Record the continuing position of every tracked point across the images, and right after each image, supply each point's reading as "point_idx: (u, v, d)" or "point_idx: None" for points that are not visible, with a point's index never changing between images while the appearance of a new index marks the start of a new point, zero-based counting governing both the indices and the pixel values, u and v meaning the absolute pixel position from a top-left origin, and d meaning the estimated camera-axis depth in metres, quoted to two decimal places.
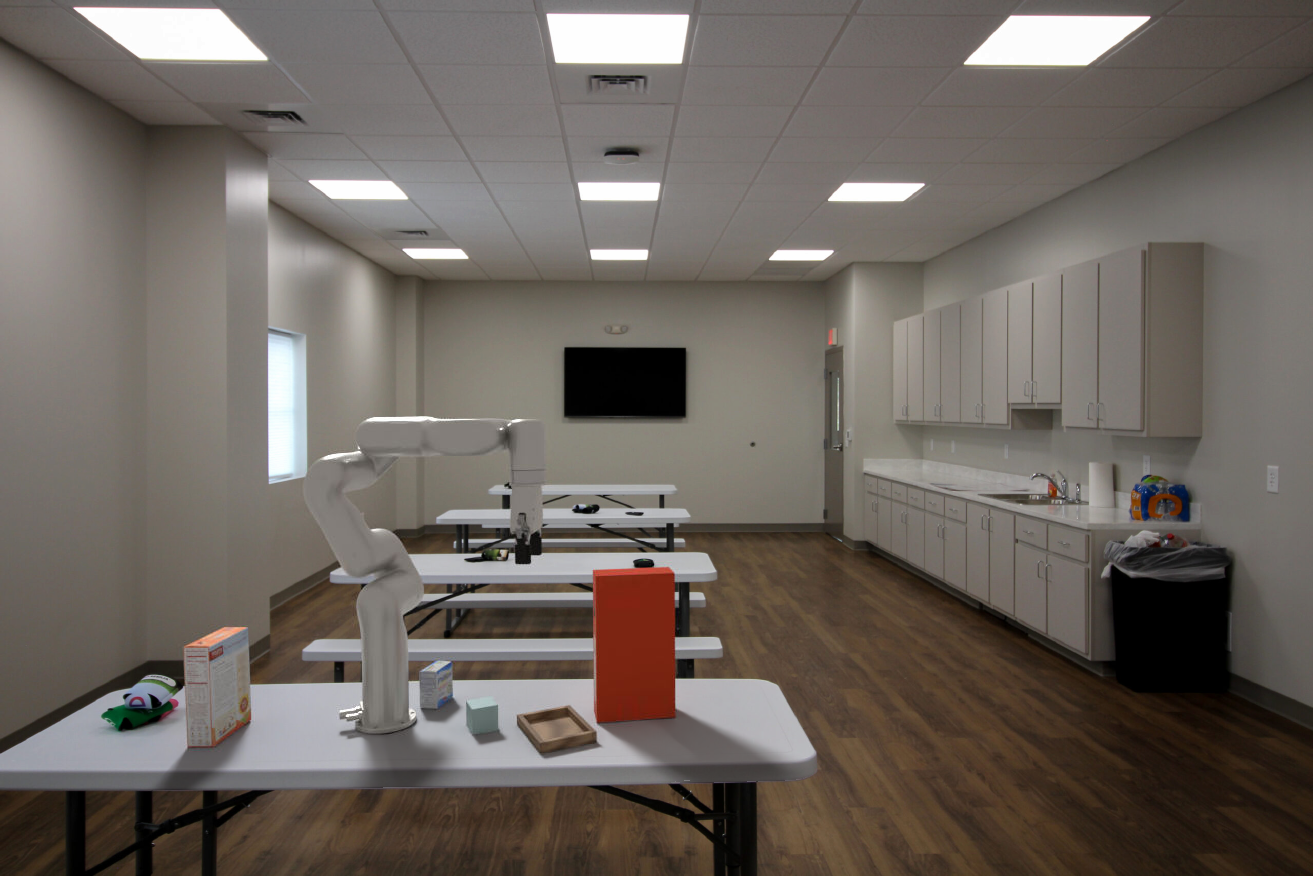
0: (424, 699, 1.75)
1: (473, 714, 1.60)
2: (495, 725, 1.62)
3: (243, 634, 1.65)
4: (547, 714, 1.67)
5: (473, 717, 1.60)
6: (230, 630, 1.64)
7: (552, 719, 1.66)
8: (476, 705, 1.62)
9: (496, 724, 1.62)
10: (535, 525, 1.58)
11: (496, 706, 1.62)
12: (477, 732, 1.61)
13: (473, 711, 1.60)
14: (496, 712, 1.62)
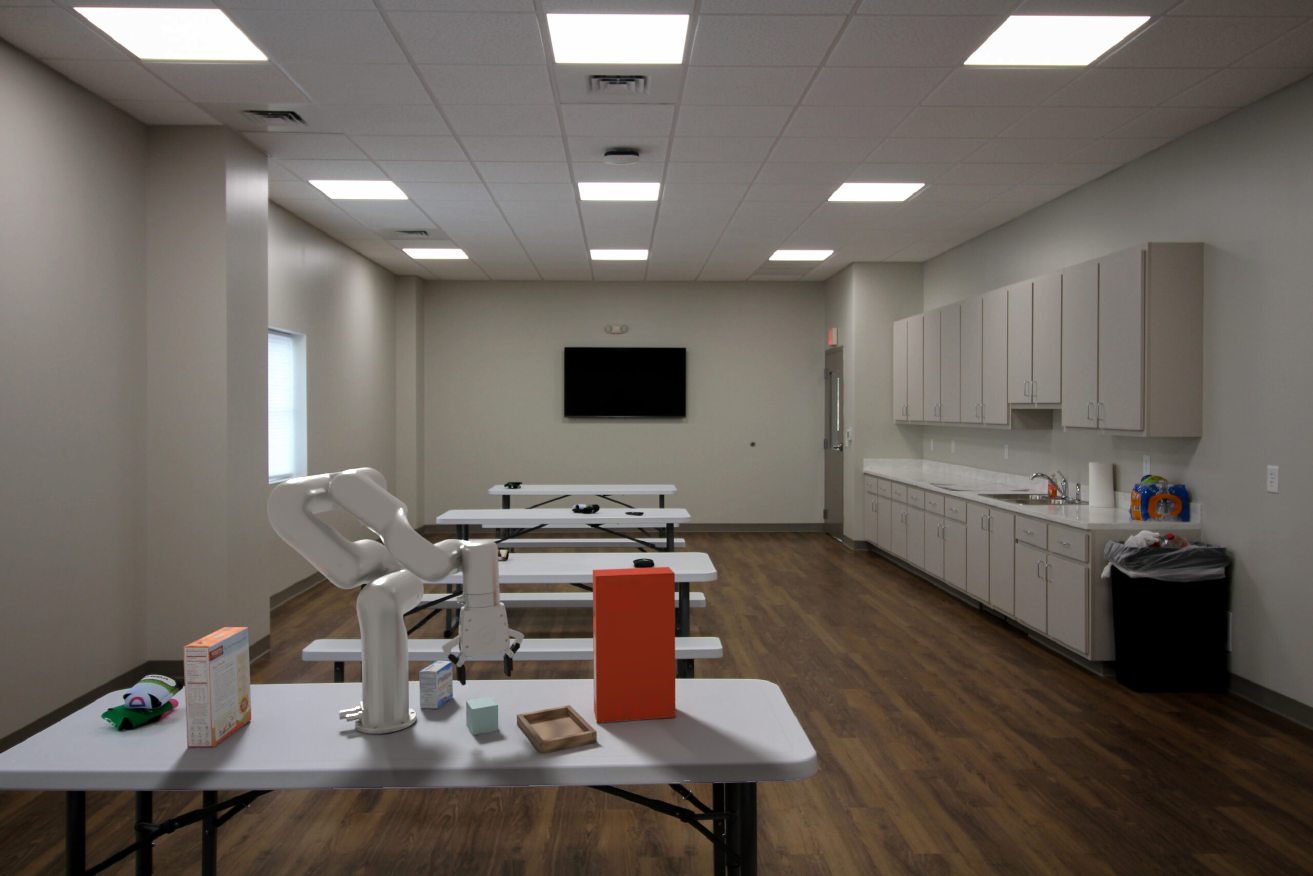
0: (424, 699, 1.75)
1: (473, 714, 1.60)
2: (495, 725, 1.62)
3: (243, 634, 1.65)
4: (547, 714, 1.67)
5: (473, 717, 1.60)
6: (230, 630, 1.64)
7: (552, 719, 1.66)
8: (476, 705, 1.62)
9: (496, 724, 1.63)
10: None
11: (496, 706, 1.62)
12: (477, 732, 1.61)
13: (473, 711, 1.60)
14: (496, 712, 1.62)
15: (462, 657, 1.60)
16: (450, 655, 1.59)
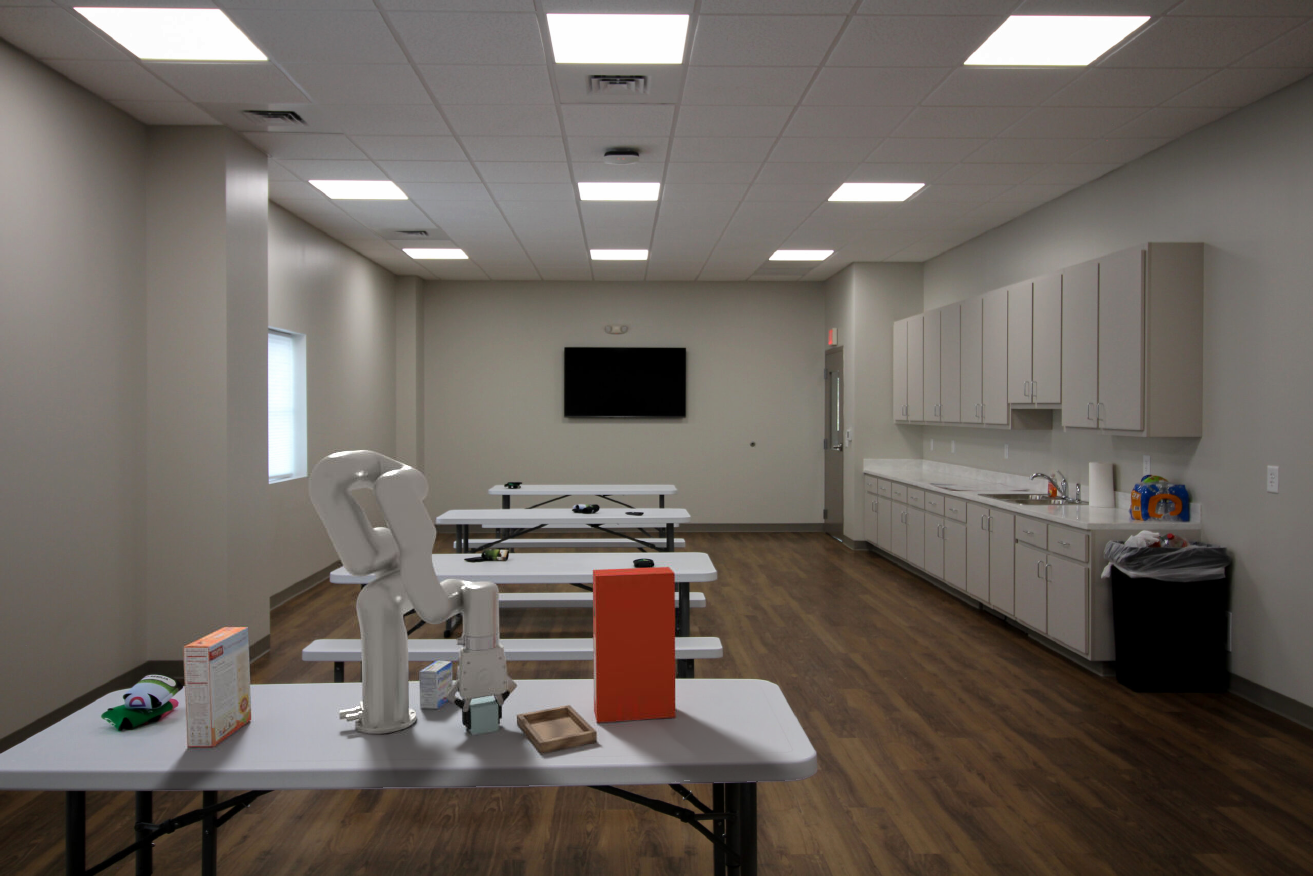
0: (424, 699, 1.75)
1: (473, 714, 1.60)
2: (495, 725, 1.62)
3: (243, 634, 1.65)
4: (547, 714, 1.67)
5: (473, 717, 1.60)
6: (230, 630, 1.64)
7: (552, 719, 1.66)
8: (476, 704, 1.62)
9: (496, 724, 1.62)
10: None
11: (496, 706, 1.62)
12: (477, 732, 1.61)
13: (473, 711, 1.60)
14: (496, 712, 1.62)
15: (466, 702, 1.61)
16: (456, 700, 1.61)
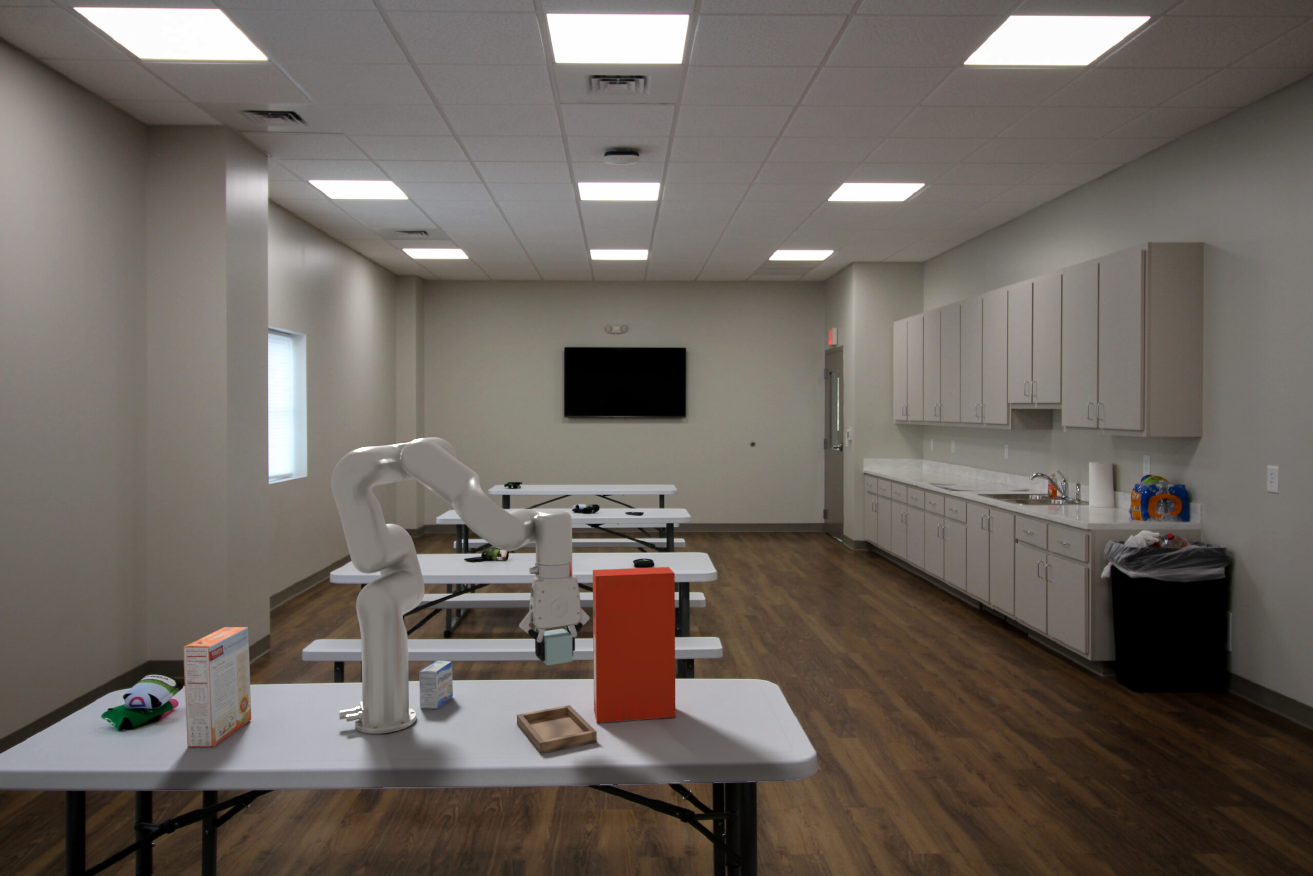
0: (424, 699, 1.75)
1: (548, 644, 1.57)
2: (570, 656, 1.59)
3: (243, 634, 1.65)
4: (547, 714, 1.67)
5: (548, 647, 1.57)
6: (230, 630, 1.64)
7: (552, 719, 1.66)
8: (550, 635, 1.59)
9: (570, 655, 1.59)
10: None
11: (570, 636, 1.59)
12: (552, 662, 1.57)
13: (548, 640, 1.57)
14: (570, 642, 1.59)
15: (540, 632, 1.57)
16: (530, 630, 1.57)
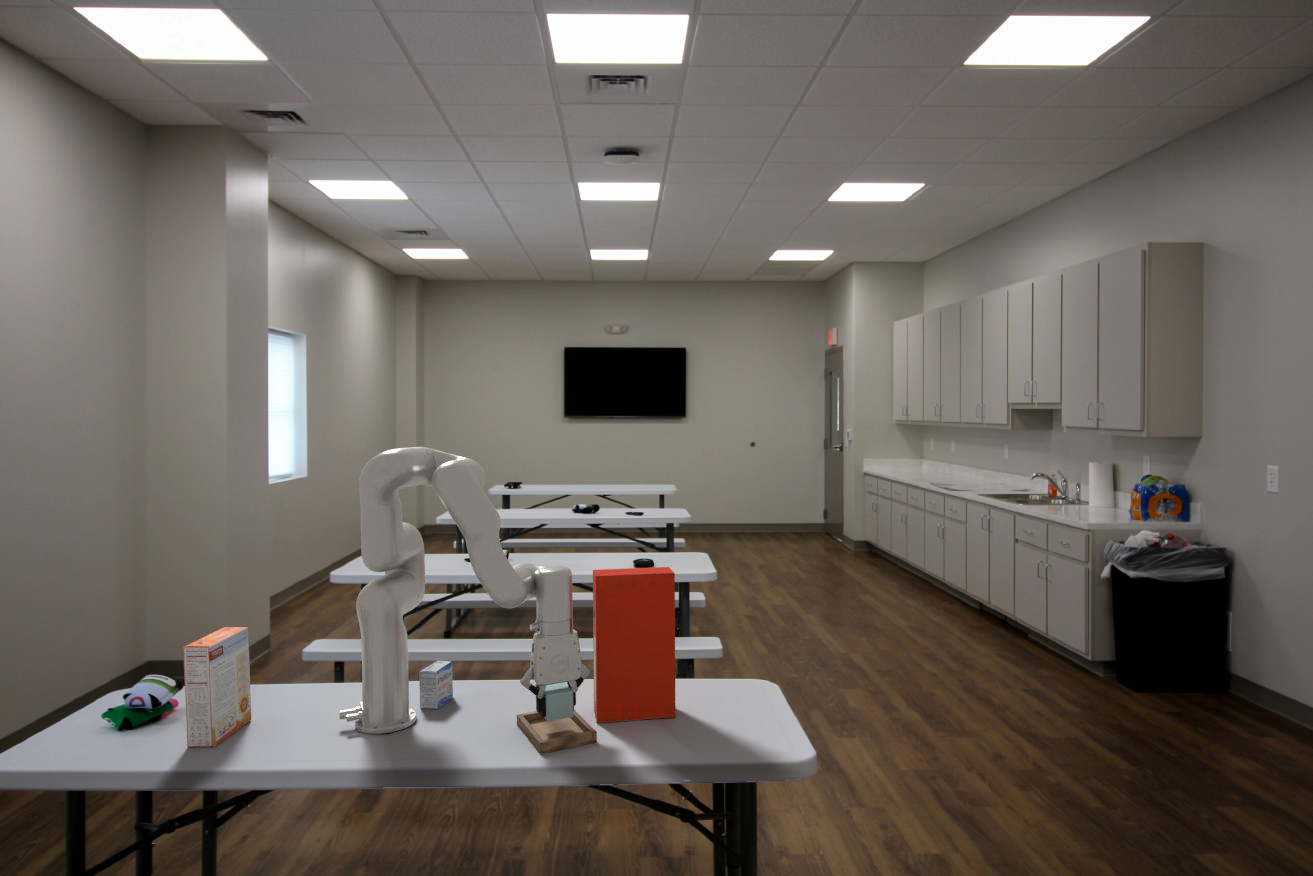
0: (424, 699, 1.75)
1: (549, 700, 1.57)
2: (570, 711, 1.59)
3: (243, 634, 1.65)
4: None
5: (549, 703, 1.57)
6: (230, 630, 1.64)
7: None
8: (551, 691, 1.59)
9: (571, 710, 1.59)
10: None
11: (571, 692, 1.59)
12: (553, 718, 1.57)
13: (549, 697, 1.57)
14: (571, 698, 1.59)
15: (541, 688, 1.58)
16: (531, 686, 1.57)
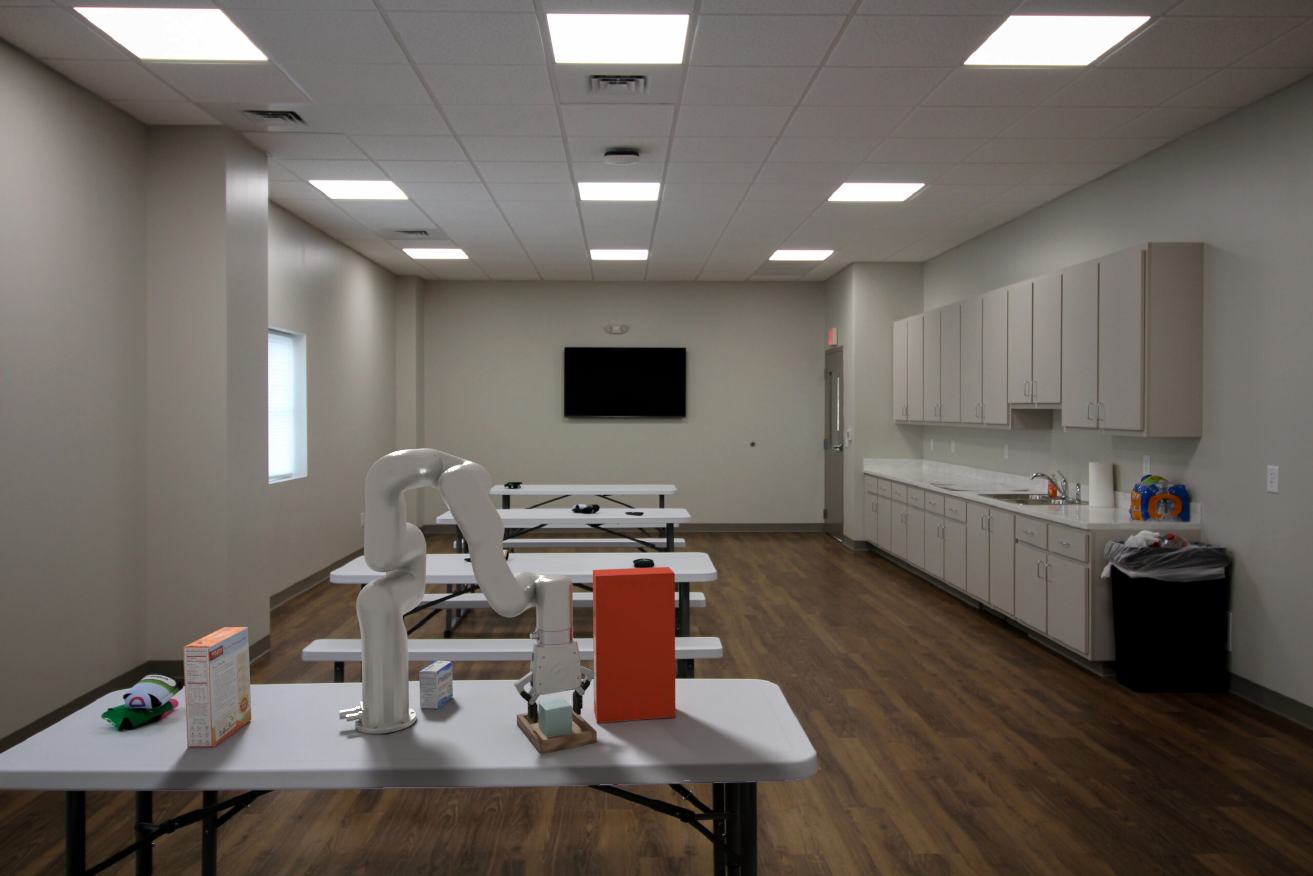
0: (424, 699, 1.75)
1: (548, 716, 1.57)
2: (569, 727, 1.59)
3: (243, 634, 1.65)
4: None
5: (548, 719, 1.57)
6: (230, 630, 1.64)
7: None
8: (550, 707, 1.59)
9: (570, 726, 1.59)
10: None
11: (570, 708, 1.59)
12: (551, 735, 1.58)
13: (548, 713, 1.57)
14: (570, 714, 1.59)
15: (534, 694, 1.57)
16: (523, 692, 1.57)
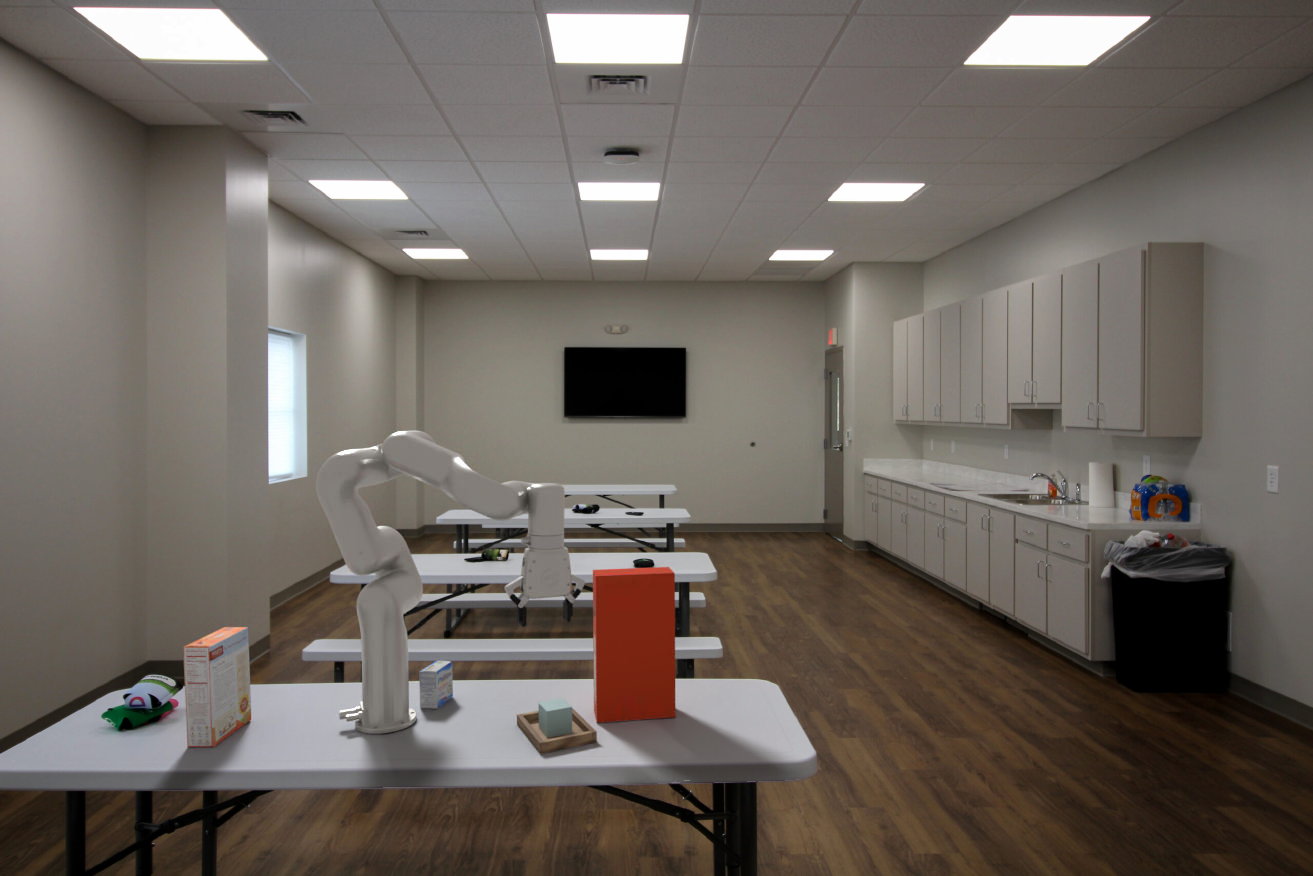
0: (424, 699, 1.75)
1: (548, 716, 1.57)
2: (569, 727, 1.59)
3: (243, 634, 1.65)
4: None
5: (548, 719, 1.57)
6: (230, 630, 1.64)
7: None
8: (550, 707, 1.59)
9: (570, 726, 1.59)
10: None
11: (570, 708, 1.59)
12: (551, 735, 1.58)
13: (548, 713, 1.57)
14: (570, 714, 1.59)
15: (524, 598, 1.59)
16: (512, 595, 1.58)
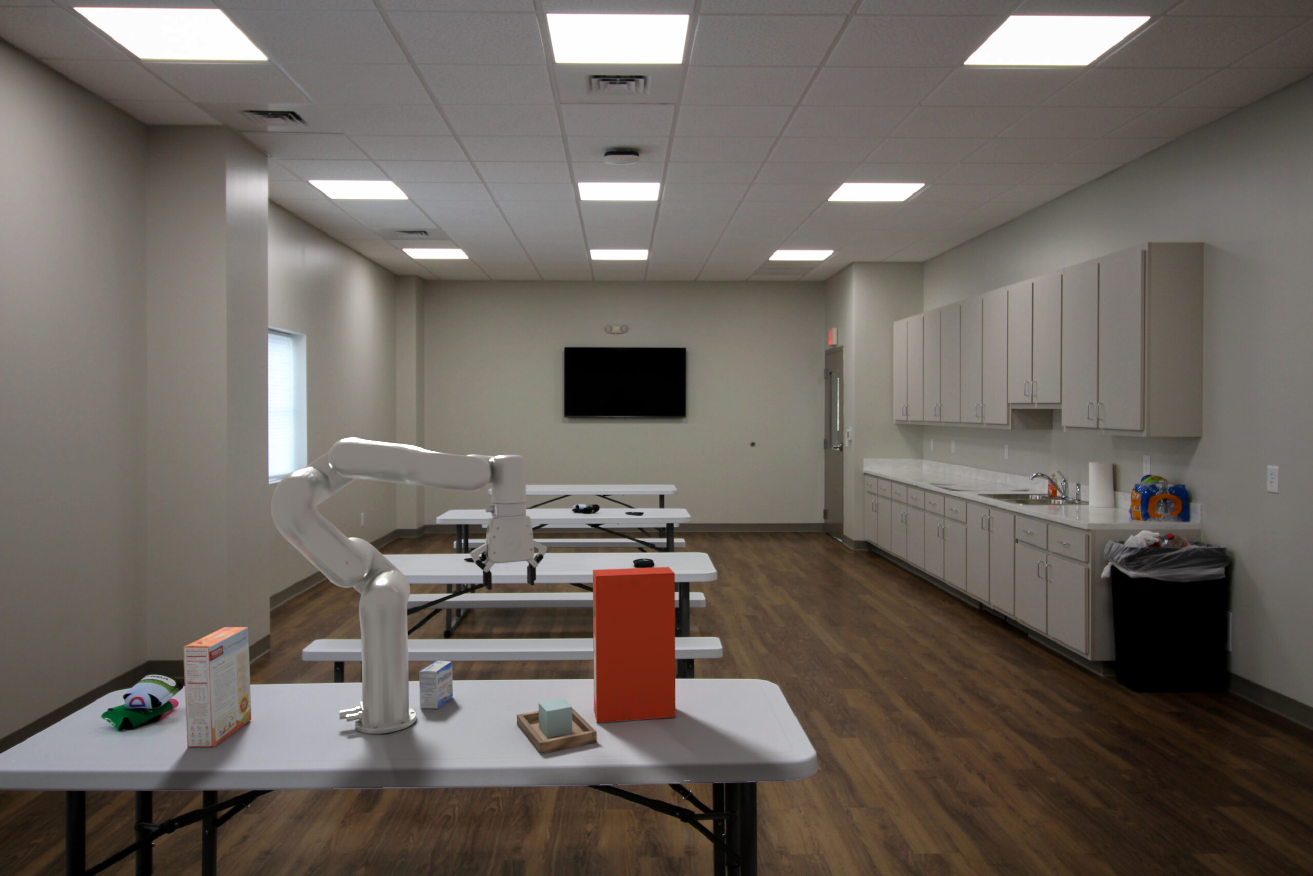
0: (424, 699, 1.75)
1: (548, 716, 1.57)
2: (569, 727, 1.59)
3: (243, 634, 1.65)
4: None
5: (548, 719, 1.57)
6: (230, 630, 1.64)
7: None
8: (550, 707, 1.59)
9: (570, 726, 1.59)
10: None
11: (570, 708, 1.59)
12: (551, 735, 1.58)
13: (548, 713, 1.57)
14: (570, 714, 1.59)
15: (489, 563, 1.68)
16: (478, 560, 1.68)
